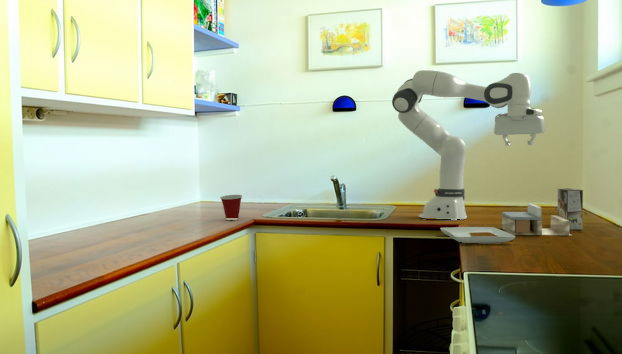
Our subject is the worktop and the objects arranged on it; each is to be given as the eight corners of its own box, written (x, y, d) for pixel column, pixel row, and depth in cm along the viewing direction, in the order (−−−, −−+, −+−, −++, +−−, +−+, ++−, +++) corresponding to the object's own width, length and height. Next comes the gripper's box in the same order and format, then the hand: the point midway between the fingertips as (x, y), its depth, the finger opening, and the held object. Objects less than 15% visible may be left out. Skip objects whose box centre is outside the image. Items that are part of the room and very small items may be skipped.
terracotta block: (516, 232, 185) (516, 219, 185) (512, 230, 190) (512, 217, 189) (529, 232, 184) (530, 219, 184) (526, 230, 189) (526, 217, 189)
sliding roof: (510, 219, 181) (511, 207, 180) (501, 214, 195) (502, 203, 195) (542, 219, 179) (542, 207, 179) (530, 214, 193) (530, 203, 193)
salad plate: (492, 234, 189) (492, 225, 189) (516, 245, 168) (517, 235, 168) (439, 235, 189) (439, 226, 188) (456, 246, 167) (456, 236, 167)
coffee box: (583, 229, 194) (584, 190, 193) (567, 229, 195) (567, 190, 194) (571, 225, 204) (572, 188, 203) (556, 226, 204) (556, 188, 203)
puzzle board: (510, 237, 181) (510, 220, 181) (501, 230, 195) (501, 215, 195) (572, 237, 178) (572, 220, 177) (558, 231, 192) (558, 215, 191)
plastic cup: (216, 220, 235) (215, 196, 234) (229, 217, 244) (229, 194, 244) (234, 222, 230) (233, 197, 229) (247, 219, 239) (246, 195, 238)
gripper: (491, 113, 207) (491, 145, 208) (540, 110, 192) (540, 144, 193) (498, 114, 212) (498, 145, 212) (546, 110, 197) (546, 144, 198)
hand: (518, 145), depth 203 cm, fingers open, 8 cm apart
